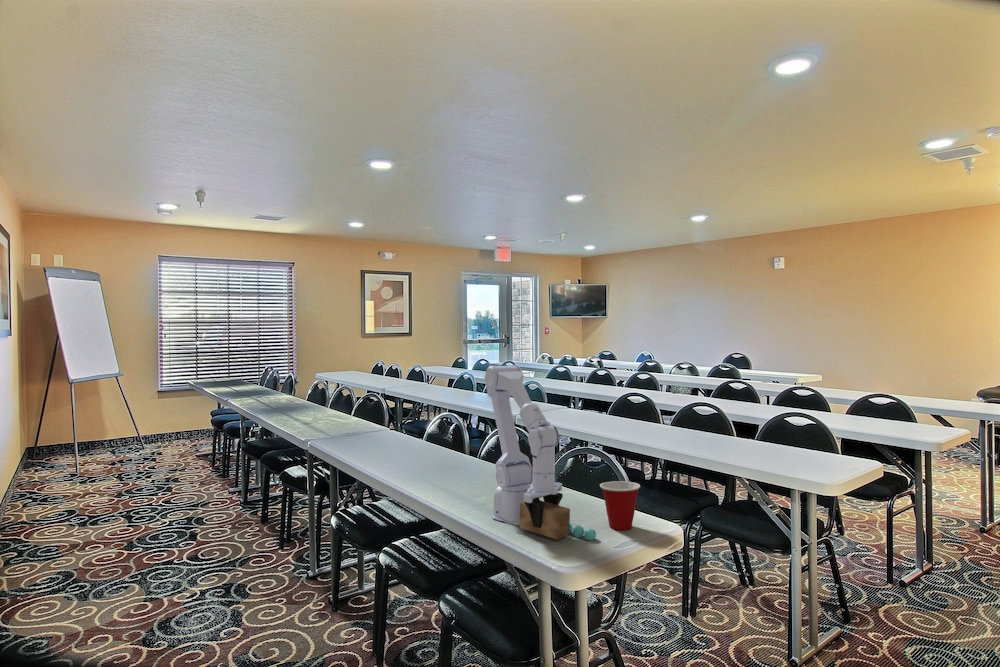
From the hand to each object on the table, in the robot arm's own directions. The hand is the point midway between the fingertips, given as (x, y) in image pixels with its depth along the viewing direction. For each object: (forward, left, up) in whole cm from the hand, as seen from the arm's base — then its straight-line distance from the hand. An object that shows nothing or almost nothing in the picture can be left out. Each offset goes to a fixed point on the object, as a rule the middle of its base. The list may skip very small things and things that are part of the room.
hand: (543, 523), depth 145 cm
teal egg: (+11, +5, -3) cm, 12 cm away
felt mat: (0, 0, -3) cm, 3 cm away
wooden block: (0, 0, -2) cm, 2 cm away
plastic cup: (+12, +18, -3) cm, 22 cm away
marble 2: (+7, +5, -3) cm, 10 cm away
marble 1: (+4, +5, -3) cm, 7 cm away
